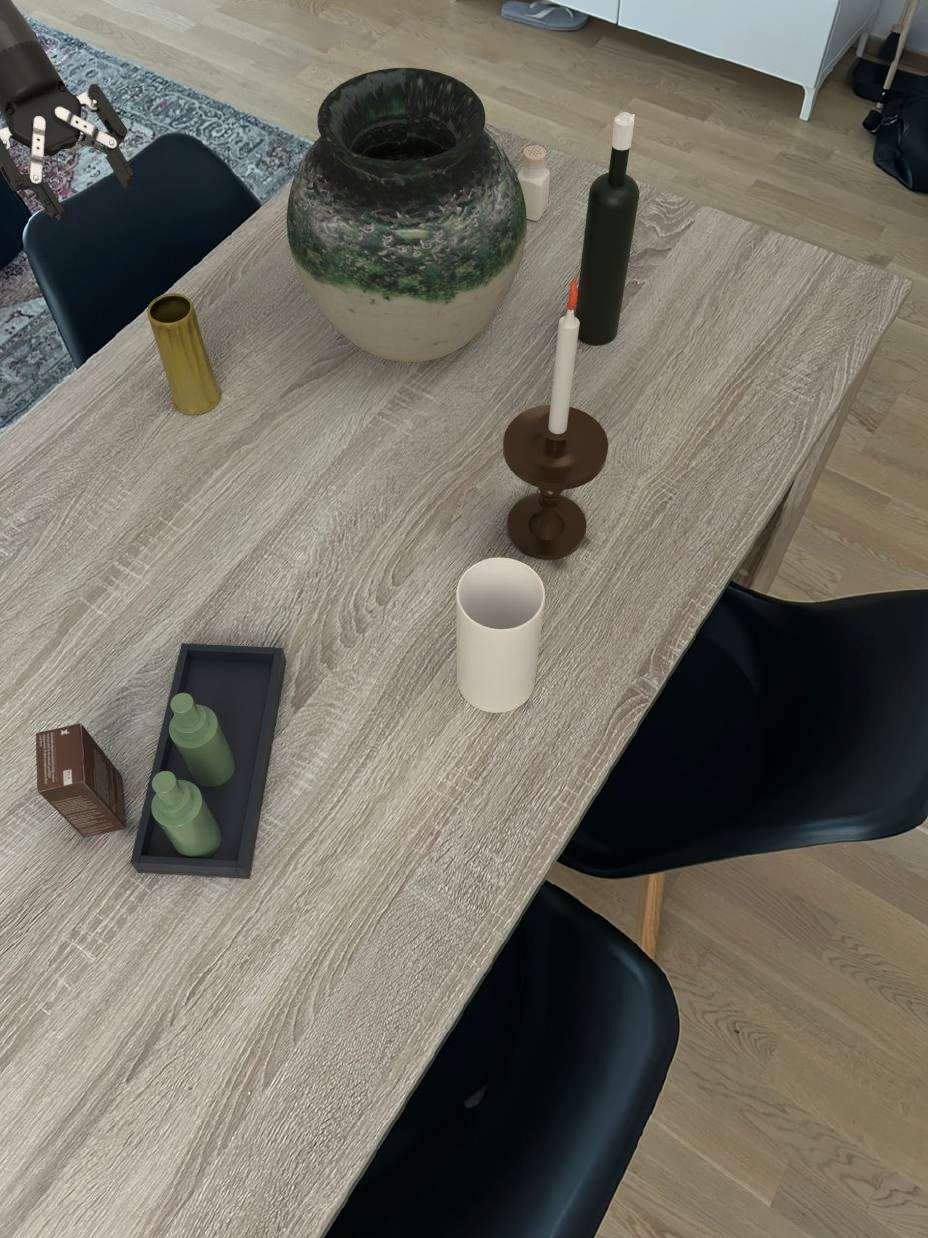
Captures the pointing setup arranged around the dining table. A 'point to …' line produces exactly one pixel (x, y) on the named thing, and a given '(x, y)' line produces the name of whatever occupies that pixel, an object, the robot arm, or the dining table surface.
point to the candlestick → (554, 458)
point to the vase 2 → (406, 215)
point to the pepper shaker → (534, 181)
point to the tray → (247, 713)
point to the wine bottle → (607, 242)
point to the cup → (498, 633)
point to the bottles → (208, 765)
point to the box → (79, 780)
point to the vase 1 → (183, 354)
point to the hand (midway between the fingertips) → (96, 201)
